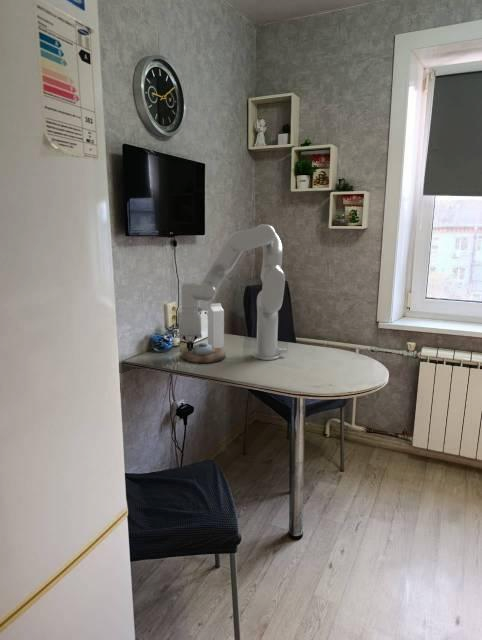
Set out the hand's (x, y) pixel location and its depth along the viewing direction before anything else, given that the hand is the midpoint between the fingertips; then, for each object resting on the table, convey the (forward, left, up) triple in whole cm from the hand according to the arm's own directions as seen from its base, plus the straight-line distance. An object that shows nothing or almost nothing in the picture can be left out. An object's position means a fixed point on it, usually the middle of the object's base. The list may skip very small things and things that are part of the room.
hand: (190, 350), depth 198 cm
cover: (-6, 0, -1) cm, 6 cm away
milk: (-12, -17, -4) cm, 21 cm away
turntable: (-6, 0, -3) cm, 7 cm away
